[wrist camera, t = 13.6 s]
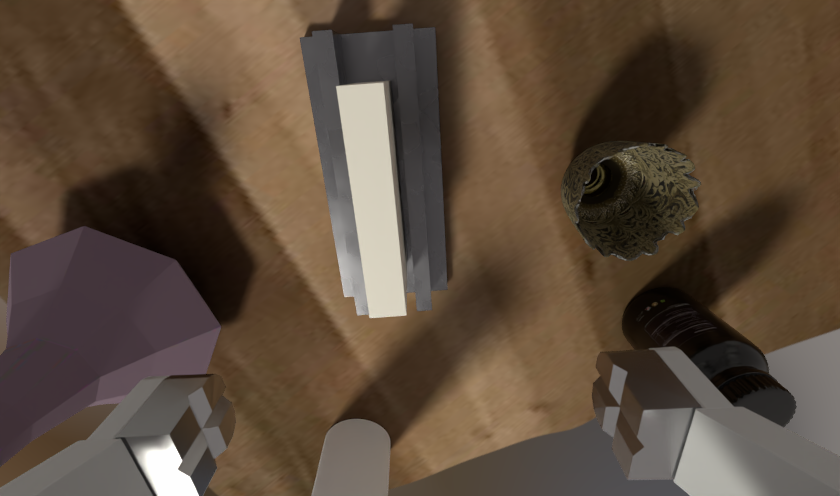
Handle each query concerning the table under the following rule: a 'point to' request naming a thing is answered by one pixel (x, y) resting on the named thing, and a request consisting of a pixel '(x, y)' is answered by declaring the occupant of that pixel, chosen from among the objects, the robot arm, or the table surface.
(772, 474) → the robot arm
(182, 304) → the flask
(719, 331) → the supplement bottle
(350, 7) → the table surface
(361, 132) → the door panel
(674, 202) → the dark grey small vase
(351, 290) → the floor track
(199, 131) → the table surface
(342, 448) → the cylindrical container
